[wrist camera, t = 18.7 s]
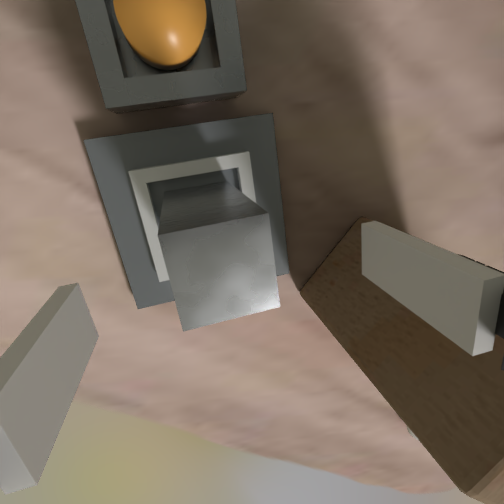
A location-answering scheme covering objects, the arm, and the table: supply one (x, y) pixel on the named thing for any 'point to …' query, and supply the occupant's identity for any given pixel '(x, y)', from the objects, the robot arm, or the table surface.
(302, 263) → the table surface
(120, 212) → the plate
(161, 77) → the button station
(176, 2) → the button
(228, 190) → the steel billet
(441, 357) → the wooden block
